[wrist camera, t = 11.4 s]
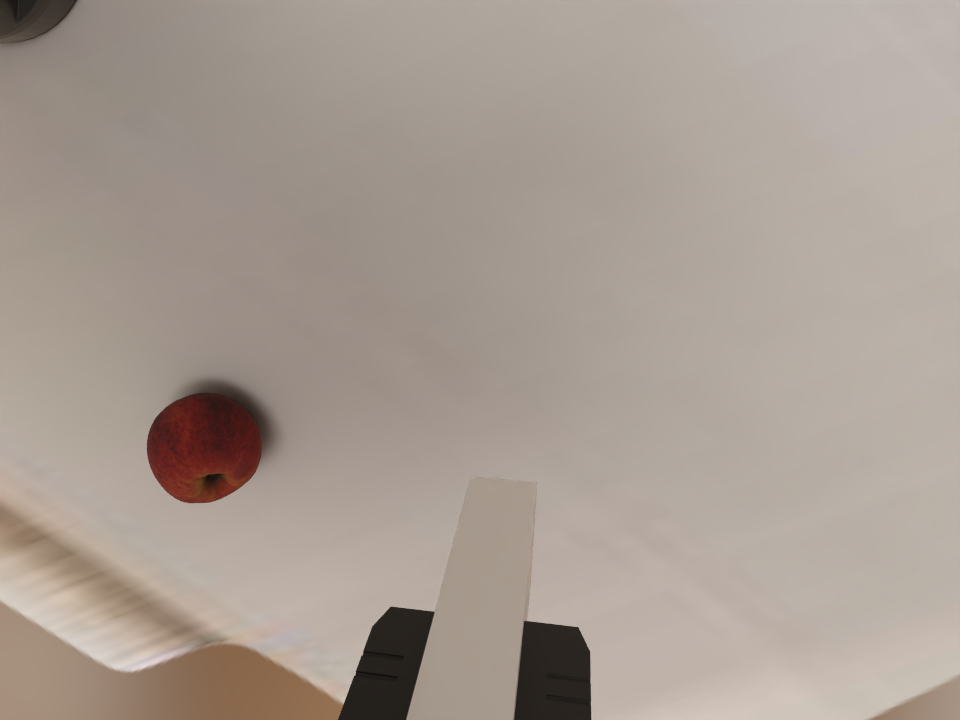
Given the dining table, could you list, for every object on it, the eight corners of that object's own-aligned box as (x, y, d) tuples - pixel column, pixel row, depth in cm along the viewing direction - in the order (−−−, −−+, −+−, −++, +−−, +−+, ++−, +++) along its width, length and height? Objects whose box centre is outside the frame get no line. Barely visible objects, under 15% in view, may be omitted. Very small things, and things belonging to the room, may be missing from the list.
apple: (239, 479, 53) (186, 544, 46) (164, 413, 52) (97, 469, 44) (296, 429, 51) (248, 490, 43) (219, 358, 49) (157, 409, 42)
